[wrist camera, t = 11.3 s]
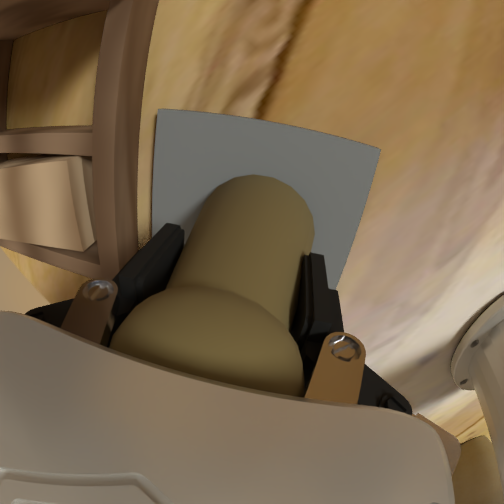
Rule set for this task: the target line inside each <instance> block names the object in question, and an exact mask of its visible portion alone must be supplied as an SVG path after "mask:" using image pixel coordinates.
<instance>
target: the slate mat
mask: <svg viewBox="0 0 504 504" xmlns="http://www.w3.org/2000/svg"><path fill="white" fill-rule="evenodd" d="M380 152H381V149H379V148H377V147H373V146H370V145H367V144H363V143H360V142H357V141H353V140H349V139H346V138H342V137H338V136H334V135H330V134H326V133H322V132H318V131H314V130H310V129H305V128H301V127H296V126H291V125H286V124H281V123H276V122H270V121H265V120H259V119H253V118H246V117H240V116H233V115H225V114H217V113H208V112H199V111H188V110H175V109H158V114H157V124H156V136H155V150H154V167H153V192H152V237H153V236H154V235H155V234H156V233H157V232H158V231H159V230H160V229H161V228H162V227H163V226H164V225H165V224H166V223H172V224H177V225H180V226H181V229H184V231H185V235H184V246H185V244H186V241H187V239H188V237H189V235H190V233H191V231H192V228H193V226H194V224H195V222H196V220H197V218H198V216H199V214H200V212H201V209H202V207H203V205H204V203H205V201H206V199H207V198H208V197H209V196H210V195H211V193H212V192H213V191H214V190H215V189H216V188H217V187H218V186H219V185H221V184H223V183H225V182H227V181H229V180H230V179H232V178H234V177H240V176H246V175H252V174H255V175H261V176H268V177H273V178H275V179H277V180H279V181H281V182H283V183H285V184H287V185H289V186H291V187H292V188H293V189H294V190H295V191H296V192H297V193H298V194H299V195H300V196H301V197H302V198H303V199H304V200H305V202H306V204H307V206H308V208H309V210H310V212H311V214H312V216H313V222H314V230H315V236H314V240H313V245H312V249H311V252H312V253H317V254H321V255H324V259H325V266H326V273H327V281H328V288H329V289H334V290H336V287H337V284H338V282H339V279H340V277H341V274H342V271H343V269H344V266H345V263H346V260H347V258H348V255H349V252H350V249H351V246H352V244H353V241H354V238H355V235H356V232H357V229H358V226H359V223H360V220H361V217H362V214H363V210H364V207H365V204H366V201H367V198H368V194H369V191H370V188H371V184H372V181H373V177H374V174H375V170H376V167H377V163H378V159H379V155H380Z"/></svg>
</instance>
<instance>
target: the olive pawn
mask: <svg viewBox="0 0 504 504" xmlns="http://www.w3.org/2000/svg"><path fill="white" fill-rule="evenodd" d="M314 236H315V230H314V222H313V216H312V214H311V212H310V210H309V208H308V206H307V204H306V202H305V200H304V199H303V198H302V197H301V196H300V195H299V194H298V193H297V192H296V191H295V190H294V189H293V188H292V187H291V186H289V185H287V184H285V183H283V182H281V181H279V180H277V179H275V178H273V177H268V176H261V175H255V174H252V175H246V176H240V177H234V178H232V179H230V180H229V181H227V182H225V183H223V184H221V185H219V186H218V187H217V188H216V189H215V190H214V191H213V192H212V193H211V195H210V196H209V197H208V198H207V199H206V201H205V203H204V205H203V207H202V209H201V212H200V214H199V216H198V218H197V220H196V222H195V224H194V226H193V228H192V231H191V233H190V235H189V237H188V239H187V241H186V244H185V246H184V248H183V250H182V252H181V255H180V257H179V259H178V261H177V264H176V266H175V268H174V270H173V273H172V275H171V277H170V280H169V282H168V284H167V287H166V289H165V290H164V291H162V292H159V293H157V294H154V295H152V296H150V297H148V298H147V299H146V300H144V301H143V302H141V303H140V304H139V305H137V306H136V307H135V308H134V309H133V310H132V311H131V313H130V314H129V315H128V316H127V317H126V318H125V320H124V321H123V322H122V324H121V325H120V326H119V328H118V329H117V330H116V332H115V333H114V335H113V336H112V339H111V343H110V346H109V348H110V349H113V350H115V351H118V352H121V353H124V354H127V355H130V356H132V357H135V358H138V359H141V360H144V361H147V362H151V363H154V364H157V365H160V366H163V367H167V368H170V369H173V370H177V371H180V372H184V373H188V374H191V375H195V376H199V377H203V378H206V379H210V380H215V381H219V382H223V383H227V384H232V385H236V386H241V387H246V388H251V389H256V390H261V391H266V392H272V393H277V394H283V395H290V396H296V397H303V394H304V387H305V380H304V371H303V363H302V359H301V356H300V352H299V349H298V345H297V344H296V342H295V341H294V339H293V337H292V336H291V334H290V332H291V329H292V325H293V321H294V318H295V314H296V310H297V306H298V299H299V290H300V282H301V273H302V264H303V256H304V255H309V253H310V252H311V249H312V245H313V240H314Z"/></svg>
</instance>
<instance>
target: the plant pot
mask: <svg viewBox="0 0 504 504" xmlns="http://www.w3.org/2000/svg"><path fill="white" fill-rule="evenodd" d="M460 446H461V454H460V458H459V460H458V463H457V465H456V468H455V470H454V473H453V475H452V483H453V490H454V498H455V504H504V497H503V491H502V485H501V480H500V474H499V470H498V465H497V461H496V456H495V452H494V448H493V444H492V443H491V442H490V440H489V439H488V438H487V437H486V436H479V437H476V438H474V439H471V440H469V441H467V442H465V443H463V444H462V445H460Z"/></svg>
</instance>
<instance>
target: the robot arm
mask: <svg viewBox="0 0 504 504" xmlns="http://www.w3.org/2000/svg"><path fill="white" fill-rule="evenodd" d="M184 235H185V231H184V229H181V226H180V225H177V224H172V223H166V224H165V225H164V226H163V227H162V228H161V229H160V230H159V231H158V232H157V233H156V234H155V235H154V236H153V237H152V238H151V240H150V241H149V242H148V243H147V244H146V245H145V246H144V247H143V248H142V249H140V250H138V251H137V252H136V254H135V255H134V256H133V257H132V258H131V259H130V260H129V261H128V262H127V263H126V265H125V266H124V267H123V268H122V269H121V270H120V271H119V272H118V274H117V275H116V276H115V277H114V278H113V279H112V280H110V279H107V278H94V279H91V280H88V281H86V282H85V283H84V284H82V286H81V287H80V288H79V290H78V292H77V294H76V296H75V298H74V299H70V300H66V301H62V302H58V303H54V304H50V305H46V306H42V307H38V308H35V309H32V310H30V311H28V312H27V313H26V314H21V313H16V312H11V311H0V504H455V498H454V490H453V483H452V475H453V473H454V470H455V468H456V465H457V463H458V460H459V458H460V454H461V446H460V443H459V441H458V439H457V438H455V437H454V436H453V435H452V434H450V433H448V432H447V431H445V430H444V429H442V428H441V427H439V426H437V425H436V424H434V423H433V422H431V421H430V420H428V419H427V418H425V417H424V416H422V415H421V414H419V413H417V414H416V415H414V414H413V413H412V408H411V405H410V404H409V402H408V401H407V400H406V398H405V397H404V396H402V395H401V394H400V393H399V392H398V391H396V390H395V389H394V388H393V387H392V386H390V385H389V384H388V383H387V382H386V381H384V380H383V379H382V378H381V377H380V376H379V375H377V374H376V373H375V372H374V371H373V370H371V369H370V368H369V367H368V366H367V365H365V364H364V363H365V357H366V351H365V348H364V345H363V344H362V343H361V341H360V340H359V339H357V338H356V337H355V336H353V335H350V334H348V333H344V328H343V321H342V314H341V308H340V302H339V295H338V291H337V290H334V289H329V288H328V281H327V273H326V266H325V259H324V255H321V254H317V253H312V252H310V253H309V255H304V256H303V264H302V273H301V282H300V290H299V299H298V306H297V310H296V314H295V318H294V321H293V325H292V329H291V332H290V334H291V336H292V337H293V339H294V341H295V342H296V344H297V345H298V349H299V352H300V356H301V359H302V363H303V371H304V380H305V387H304V394H303V397H296V396H290V395H283V394H277V393H272V392H266V391H261V390H256V389H251V388H246V387H241V386H236V385H232V384H227V383H223V382H219V381H215V380H210V379H206V378H203V377H199V376H195V375H191V374H188V373H184V372H180V371H177V370H173V369H170V368H167V367H163V366H160V365H157V364H154V363H151V362H147V361H144V360H141V359H138V358H135V357H132V356H130V355H127V354H124V353H121V352H118V351H115V350H113V349H110V348H109V346H110V343H111V339H112V336H113V335H114V333H115V332H116V330H117V329H118V328H119V326H120V325H121V324H122V322H123V321H124V320H125V318H126V317H127V316H128V315H129V314H130V313H131V311H132V310H133V309H134V308H135V307H136V306H137V305H139V304H140V303H141V302H143V301H144V300H146V299H147V298H148V297H150V296H152V295H154V294H157V293H159V292H162V291H164V290H165V289H166V287H167V284H168V282H169V280H170V277H171V275H172V273H173V270H174V268H175V266H176V264H177V261H178V259H179V257H180V255H181V252H182V250H183V248H184ZM451 374H452V377H453V380H454V382H455V384H456V385H457V386H458V387H460V388H461V389H465V390H475V391H476V394H477V397H478V399H479V402H480V405H481V408H482V411H483V414H484V417H485V420H486V423H487V427H488V430H489V434H490V437H491V441H492V444H493V448H494V452H495V456H496V461H497V465H498V470H499V474H500V480H501V485H502V491H503V497H504V295H503V296H501V297H500V298H499V299H498V300H497V301H495V302H494V303H493V304H492V305H491V306H490V307H489V308H488V309H487V310H485V311H484V312H483V313H482V314H481V315H480V317H479V318H478V319H477V320H476V321H475V322H474V323H473V325H472V326H471V327H470V328H469V330H468V331H467V332H466V334H465V335H464V336H463V338H462V340H461V341H460V343H459V345H458V347H457V348H456V351H455V353H454V355H453V358H452V362H451Z"/></svg>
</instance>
